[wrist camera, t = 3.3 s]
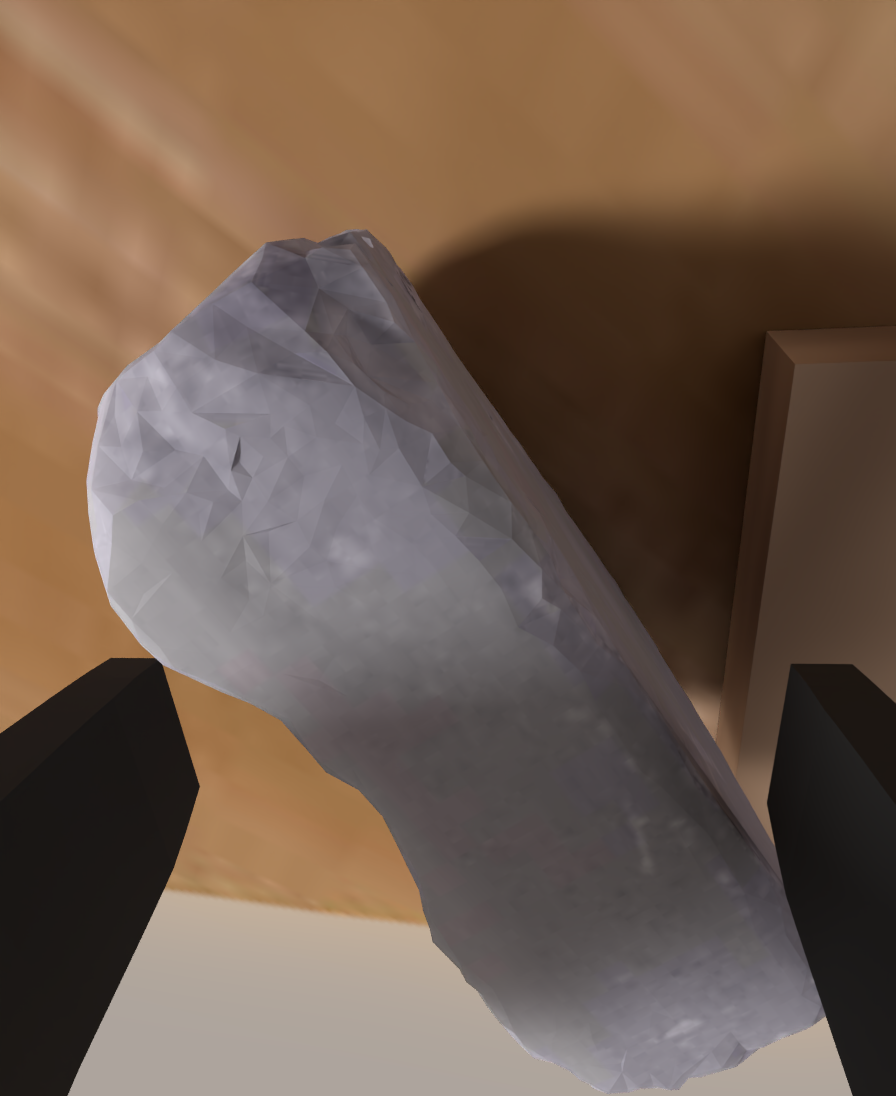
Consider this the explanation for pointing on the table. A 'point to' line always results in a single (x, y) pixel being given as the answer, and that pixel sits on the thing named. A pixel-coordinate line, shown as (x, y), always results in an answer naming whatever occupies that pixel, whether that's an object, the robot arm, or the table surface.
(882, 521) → the walnut base
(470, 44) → the table surface
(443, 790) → the stone block
